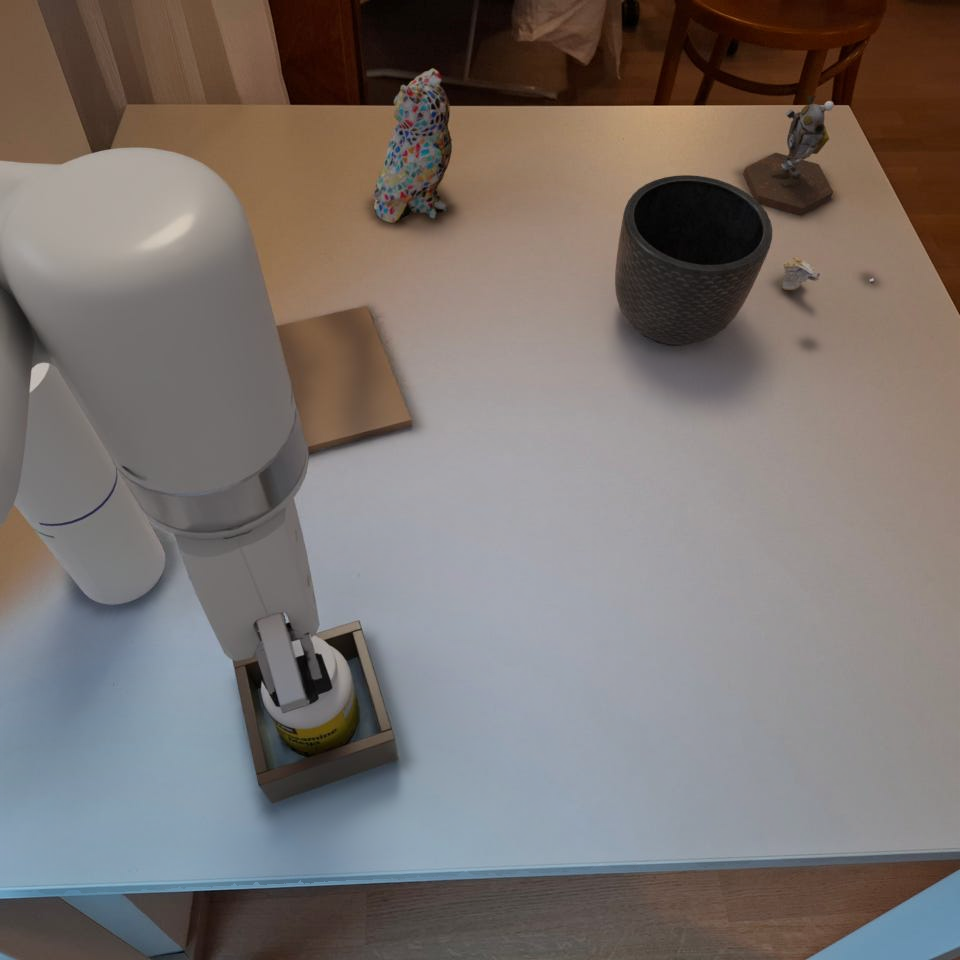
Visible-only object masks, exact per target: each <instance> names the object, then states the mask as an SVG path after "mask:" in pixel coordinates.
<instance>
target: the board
mask: <svg viewBox="0 0 960 960" xmlns="http://www.w3.org/2000/svg"><path fill="white" fill-rule="evenodd" d="M276 327H277V330H278V334H279V338H280V342H281V346H282V350H283V355H284V359H285V362H286V366H287V370H288V373H289V377H290V381H291V384H292V389H293V393H294V397H295V401H296V404H297V408H298V412H299V416H300V420H301V424H302V428H303V431H304V435H305V438H306V442H307V446H308V454H310V453H314V452H317V451H322V450H325V449H330V448H333V447H336V446H341V445H344V444H345V445H346V444H348V443H353V442H356V441H360V440H364V439H368V438H371V437H374V436H375V437H376V436H379V435H382V434H386V433H391V432H395V431H397V430H398V431H399V430H402V429H405V428H406V429H407V428H409V427H412V426H413V420H412V417H411V414H410V411H409V409H408V406H407V404H406V402H405V399H404V397H403V394H402V391H401V389H400V386H399V384H398V381H397V378H396V376H395V374H394V371H393V369H392V366H391V363H390V361H389V358H388V355H387V353H386V351H385V347H384V346H383V343H382V341H381V338H380V336H379V333H378V330H377V328H376V325H375V322H374V321H373V318H372V316H371V313H370V310H369V308H368V306H367V305H363V306H358V307H355V308H349V309H346V310H341V311H337V312H333V313H327V314H324V315H320V316H319V315H318V316H314V317H311V318H306V319H301V320H298V321H297V320H296V321H293V322H289V323H284V324H279V325H276Z"/></svg>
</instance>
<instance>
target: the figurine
mask: <svg viewBox="0 0 960 960" xmlns="http://www.w3.org/2000/svg"><path fill="white" fill-rule="evenodd" d="M441 83H442V76H441V73H440V72H439V70H437V69H435V68H434V67H432V68H431V69H429V70H426V71H423V72H422V73H421V74H419V75H417V76H416V77H415V78H414V79H413V80H411V81H410V82H409V83H408V84H407V85H405V84H402V85H400V89H399V92H398V93H397V94H396V95H395V96H394V99H393V105H394V111H393V112H394V113H393V117H394V118H395V120H396V121H398V124H397V125H396V127H395V129H394V130H393V131H392V134H391V138H390V140H389V142H388V148H387V150H386V153H385V157H384V161H383V166H382V169H381V172H380V175H379V177H378V179H377V182H376V184H375V188H374V194H373V195H374V204H373V205H374V210H375V214H376V216H377V217H378V218H379V219H381V220H383V222H386V223H389V224H398V223H399V222H400V221H402V220H403V219H404V218H407V217H409V216H410V214H417V213H425V214H426V215H427V216H428V217H429V218H430V219H436V218H437V215H438V213H444V212H446V211H447V210H448V205H447V203H445V202H444V201H442V198H441V195H437V194H438V190H437V189H438V186H439V185H440V184H441V182H442V180H443V179H444V177H445V173H446V171H447V169H448V167H449V164H450V160H451V157H452V149H453V144H452V141H453V140H452V136H451V132H450V131H449V121H450V115H451V114H450V111H451V107H450V101H449V98H448V97H447V94H446V92H445V90H444V88H443V87H442V86H443V85H442V84H441Z"/></svg>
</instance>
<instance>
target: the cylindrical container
mask: <svg viewBox="0 0 960 960" xmlns="http://www.w3.org/2000/svg"><path fill="white" fill-rule="evenodd" d="M13 506H14V507H15V508H16V509H17V510H18V512H19V513H20V514H21V515H22V517H23V518H24V519H25V520H26V522H27V523H28V524H29V525H30V527H31V528H32V529H33V530H34V532H35V533H36V535H37V536H38V537H39V538H40V539H41V541H42V542H43V543H44V545H45V546H46V547H47V549H48V550H49V551H50V552H51V553H52V554H53V556H54V557H55V558H56V559H57V561H58V562H59V563H60V565H61V566H62V567H63V568H64V570H65V571H66V572H67V574H69V576H70V577H71V578H72V580H73V581H74V582H75V584H76V585H77V586H78V588H79V589H80V590H81V591H82V592H83V594H85V595H86V596H87V598H89V599H90V600H93V601H94V602H96V603H98V604H103V605H110V606H113V605H122V604H126V603H130V602H132V601H135V600H138V599H139V598H141V597H143V596H144V595H146V594H147V593H148V592H150V590H152V589H153V588H154V587H155V585H156V584H157V583H158V582H159V580H160V578H161V576H162V575H163V573H164V570H165V567H166V552H165V549H164V547H163V545H162V543H161V541H160V540H159V538H158V535H156V533H155V531H154V529H153V527H152V525H151V524H150V522H149V519H147V516H146V515H145V514H144V513H143V511H142V510H141V508H140V507H139V505H138V503H137V501H136V500H135V498H134V497H133V495H132V493H131V492H130V490H129V488H128V487H127V485H126V483H125V482H124V480H123V478H122V477H121V475H120V473H119V472H118V470H117V468H116V467H115V465H114V463H113V461H112V459H111V457H110V456H109V454H108V452H107V451H106V449H105V447H104V446H103V444H102V442H101V441H100V439H99V437H98V436H97V434H96V432H95V431H94V429H93V427H92V426H91V424H90V422H89V421H88V419H87V418H86V416H85V414H84V413H83V411H82V409H81V408H80V406H79V405H78V403H77V401H76V400H75V398H74V396H73V395H72V393H71V391H70V390H69V388H68V386H67V384H66V383H65V381H64V379H63V378H62V376H61V374H60V373H59V371H58V369H57V368H56V367H55V366H53V365H52V364H49V363H39V364H37V365H36V366H34V367H33V368H32V370H31V381H30V392H29V406H28V420H27V430H26V439H25V448H24V456H23V464H22V471H21V477H20V484H19V489H18V493H17V496H16V499H15V502H14V505H13Z"/></svg>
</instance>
